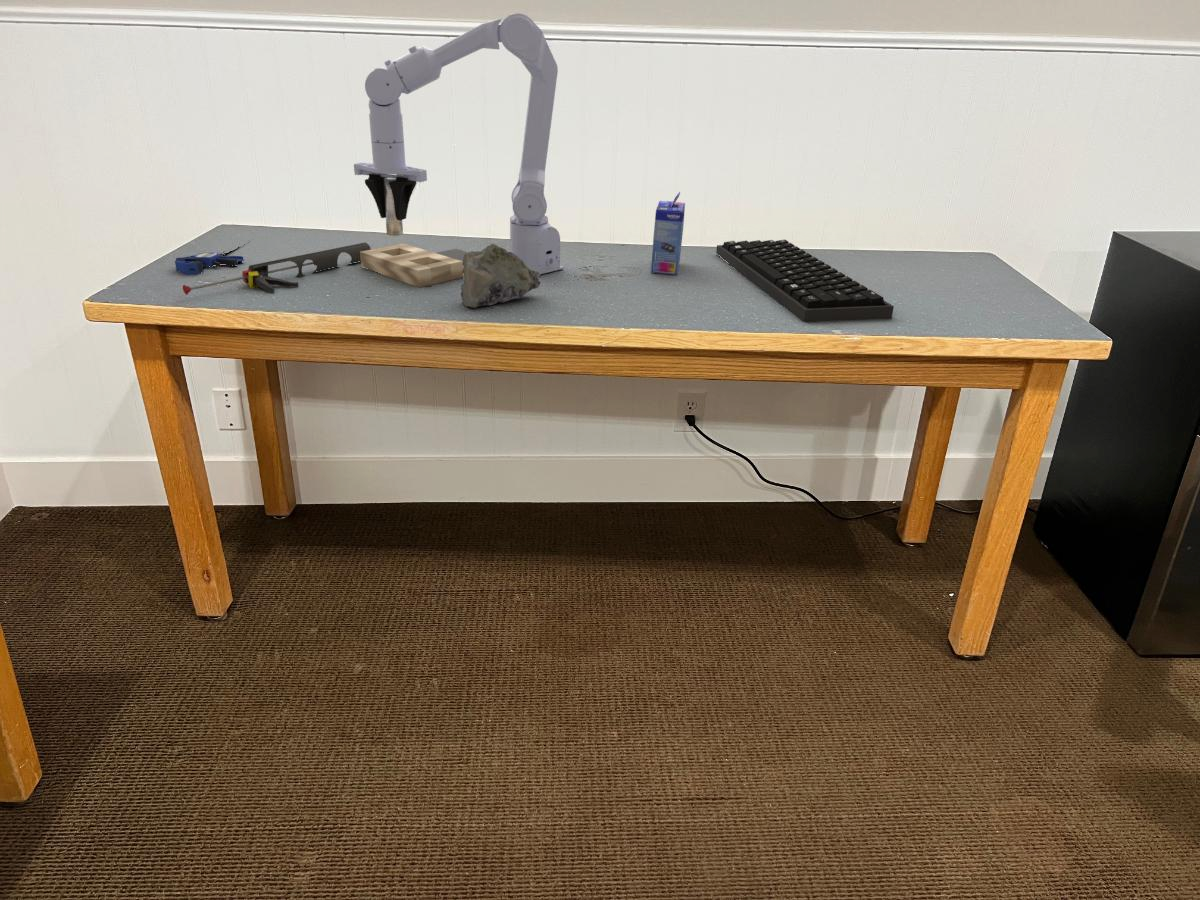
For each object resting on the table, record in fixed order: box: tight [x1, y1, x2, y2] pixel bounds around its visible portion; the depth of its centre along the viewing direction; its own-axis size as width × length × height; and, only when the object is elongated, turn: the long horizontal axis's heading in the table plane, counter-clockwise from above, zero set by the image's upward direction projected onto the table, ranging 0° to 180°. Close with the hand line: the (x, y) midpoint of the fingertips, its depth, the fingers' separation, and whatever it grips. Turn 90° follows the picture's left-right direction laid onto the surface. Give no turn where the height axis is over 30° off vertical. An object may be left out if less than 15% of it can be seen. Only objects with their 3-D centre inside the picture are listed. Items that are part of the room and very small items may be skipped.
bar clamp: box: [174, 251, 245, 275], centre depth 171 cm, size 32×2×10 cm
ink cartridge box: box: [650, 191, 686, 276], centre depth 168 cm, size 10×6×14 cm, turn 173°
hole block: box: [360, 243, 464, 288], centre depth 162 cm, size 18×10×3 cm, turn 47°
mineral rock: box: [460, 243, 541, 309], centre depth 145 cm, size 13×11×10 cm
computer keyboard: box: [715, 239, 895, 323], centre depth 163 cm, size 45×16×4 cm, turn 12°
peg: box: [383, 178, 404, 237], centre depth 160 cm, size 3×3×10 cm
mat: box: [436, 248, 467, 265], centre depth 172 cm, size 10×10×1 cm
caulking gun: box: [182, 241, 372, 295], centre depth 155 cm, size 4×37×10 cm
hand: (393, 218), depth 161 cm, fingers closed on peg, 3 cm apart
